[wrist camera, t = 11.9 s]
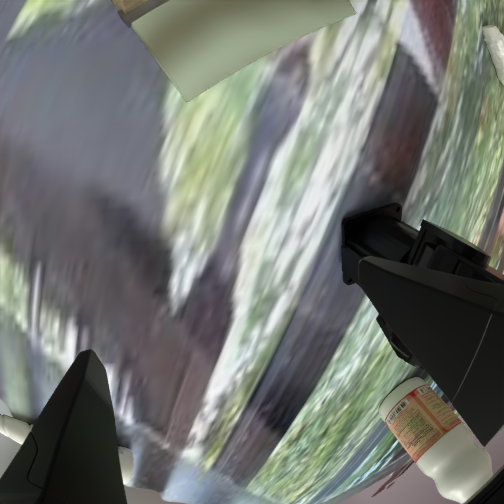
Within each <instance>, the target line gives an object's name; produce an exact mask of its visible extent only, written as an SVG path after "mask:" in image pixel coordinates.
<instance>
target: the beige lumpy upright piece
mask: <svg viewBox="0 0 504 504" xmlns="http://www.w3.org/2000/svg"><path fill="white" fill-rule="evenodd" d="M482 29H483V30H482V32H483V35H484V41H486V44H487V47H488V50H489V53H490V55H491V58H492V61H493V64H494V66H495V69H496V73H497V77H498V79H499V80H500V82H501V83H502V84H503V85H504V36H503V34H502V33H500V31H499V29H498V28H497V27H496V26H494V25H488V26H483V27H482Z"/></svg>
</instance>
